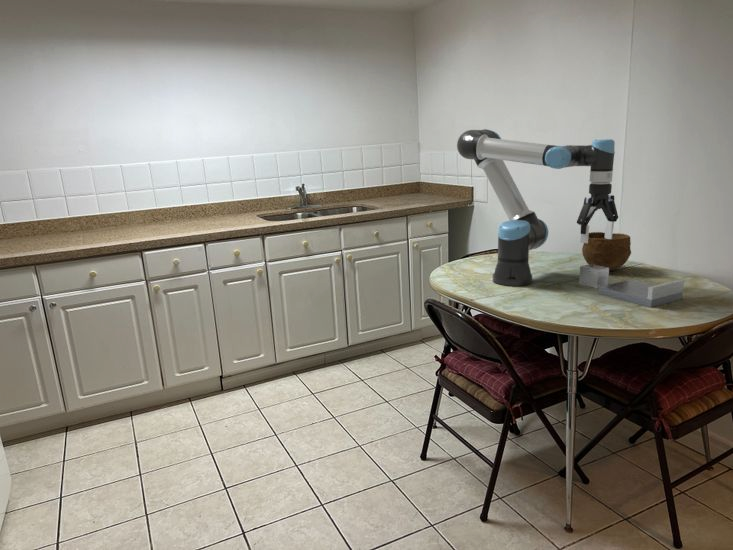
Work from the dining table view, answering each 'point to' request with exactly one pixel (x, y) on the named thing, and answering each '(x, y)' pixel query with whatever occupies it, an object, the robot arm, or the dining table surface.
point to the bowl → (607, 250)
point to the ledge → (644, 292)
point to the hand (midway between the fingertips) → (596, 240)
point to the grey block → (593, 275)
